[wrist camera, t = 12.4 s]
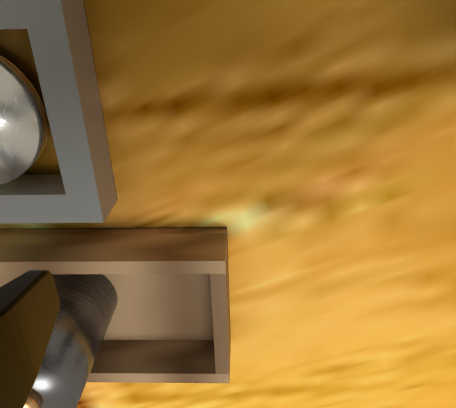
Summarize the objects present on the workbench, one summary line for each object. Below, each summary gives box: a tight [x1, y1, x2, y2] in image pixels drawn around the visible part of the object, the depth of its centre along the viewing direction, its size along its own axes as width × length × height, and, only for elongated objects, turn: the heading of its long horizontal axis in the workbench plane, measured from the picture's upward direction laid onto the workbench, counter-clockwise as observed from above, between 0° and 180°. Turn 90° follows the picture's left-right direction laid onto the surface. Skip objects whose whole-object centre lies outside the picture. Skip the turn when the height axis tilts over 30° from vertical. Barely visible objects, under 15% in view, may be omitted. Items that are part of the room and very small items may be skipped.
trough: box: [0, 227, 231, 383], centre depth 23 cm, size 18×8×3 cm, turn 91°
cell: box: [23, 274, 118, 408], centre depth 20 cm, size 4×4×8 cm
